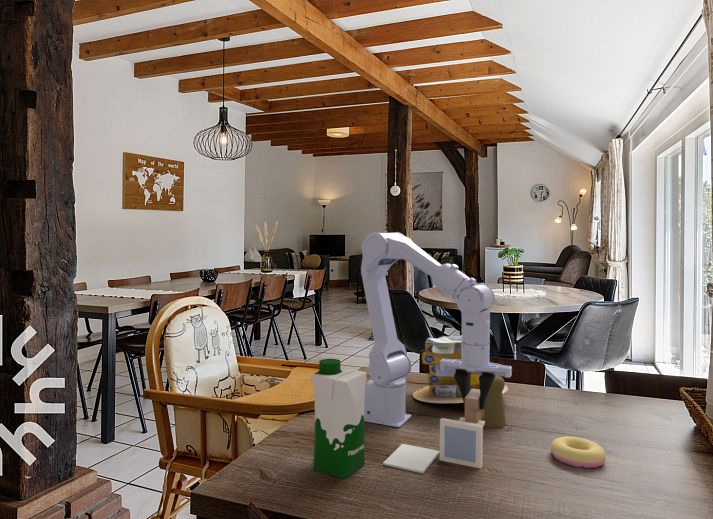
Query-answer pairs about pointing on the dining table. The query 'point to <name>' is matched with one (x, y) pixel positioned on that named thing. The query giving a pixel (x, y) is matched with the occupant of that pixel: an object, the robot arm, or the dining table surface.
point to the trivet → (411, 458)
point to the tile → (461, 442)
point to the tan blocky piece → (473, 408)
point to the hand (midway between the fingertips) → (474, 406)
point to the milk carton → (338, 418)
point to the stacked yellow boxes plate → (444, 372)
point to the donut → (578, 452)
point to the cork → (495, 405)
